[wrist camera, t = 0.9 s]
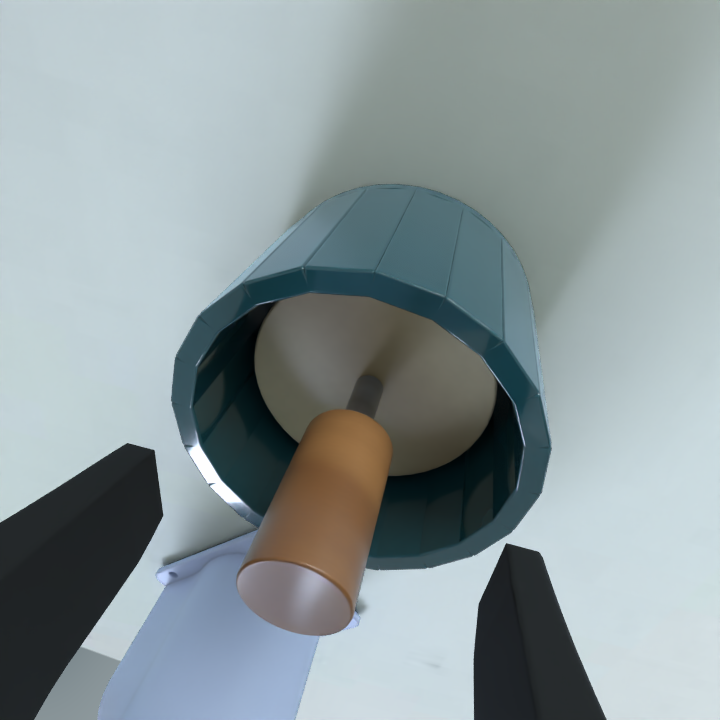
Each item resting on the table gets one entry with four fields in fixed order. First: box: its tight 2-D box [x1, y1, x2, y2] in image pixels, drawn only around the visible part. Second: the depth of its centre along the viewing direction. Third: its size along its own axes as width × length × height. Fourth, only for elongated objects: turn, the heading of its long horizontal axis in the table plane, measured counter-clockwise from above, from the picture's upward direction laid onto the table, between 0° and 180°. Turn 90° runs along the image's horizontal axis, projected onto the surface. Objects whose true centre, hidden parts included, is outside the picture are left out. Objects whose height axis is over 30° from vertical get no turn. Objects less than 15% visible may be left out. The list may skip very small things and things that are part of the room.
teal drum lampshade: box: [171, 184, 552, 570], centre depth 15 cm, size 9×9×7 cm
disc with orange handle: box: [236, 293, 497, 636], centre depth 13 cm, size 7×7×9 cm
